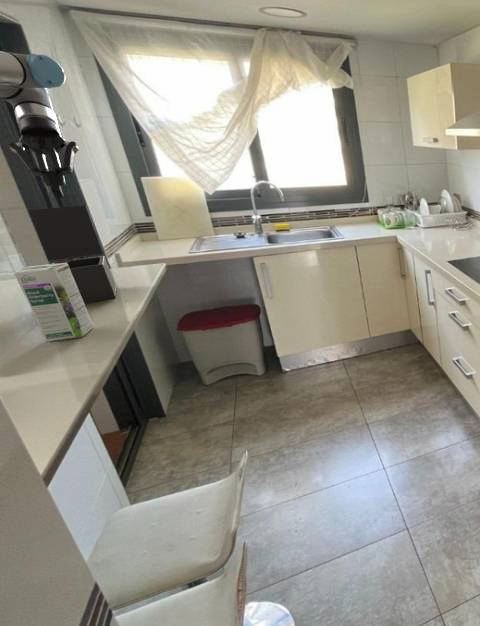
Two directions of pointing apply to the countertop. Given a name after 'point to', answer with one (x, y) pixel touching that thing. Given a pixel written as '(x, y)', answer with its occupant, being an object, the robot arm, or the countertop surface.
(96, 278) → the dark brown box
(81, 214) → the lid
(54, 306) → the syrup box
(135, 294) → the countertop surface
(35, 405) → the countertop surface
